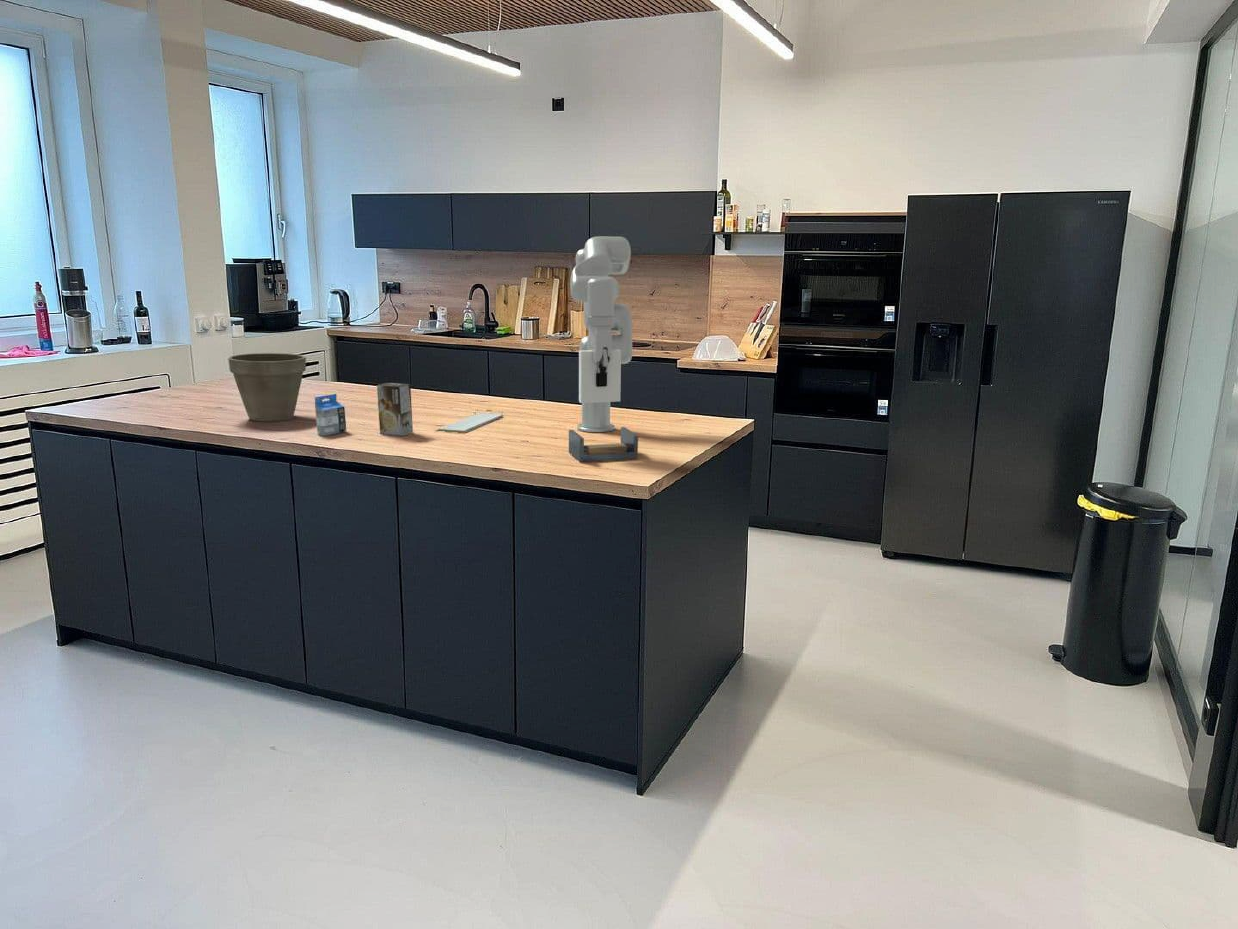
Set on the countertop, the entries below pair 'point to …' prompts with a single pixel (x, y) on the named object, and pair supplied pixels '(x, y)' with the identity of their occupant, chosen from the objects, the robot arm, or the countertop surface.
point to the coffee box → (395, 409)
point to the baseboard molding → (470, 422)
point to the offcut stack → (606, 448)
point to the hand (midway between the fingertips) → (599, 385)
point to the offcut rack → (578, 453)
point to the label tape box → (329, 415)
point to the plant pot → (268, 383)
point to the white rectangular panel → (588, 379)
